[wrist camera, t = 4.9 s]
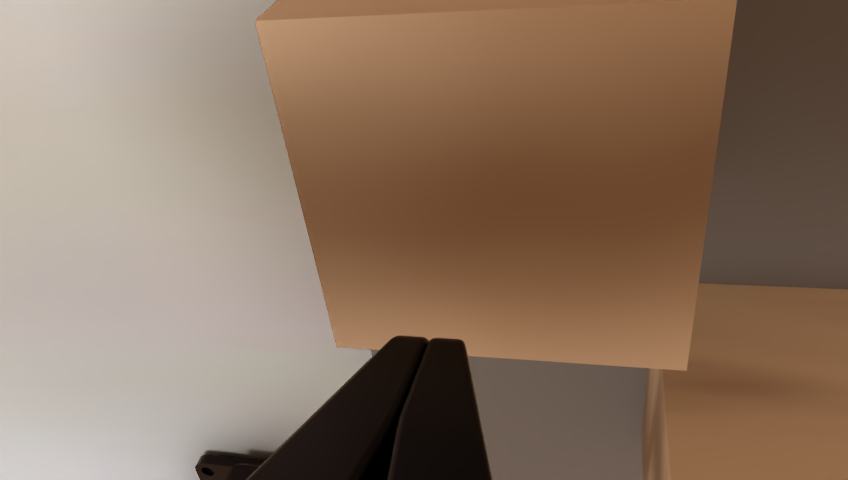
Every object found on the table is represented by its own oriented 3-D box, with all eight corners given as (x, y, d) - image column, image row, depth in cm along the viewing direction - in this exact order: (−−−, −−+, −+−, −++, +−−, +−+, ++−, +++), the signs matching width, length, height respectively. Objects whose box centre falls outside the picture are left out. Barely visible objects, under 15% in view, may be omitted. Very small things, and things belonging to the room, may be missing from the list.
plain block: (665, 178, 16) (686, 370, 12) (410, 176, 18) (336, 346, 13) (692, -109, 13) (737, -2, 8) (372, -84, 14) (254, 21, 10)
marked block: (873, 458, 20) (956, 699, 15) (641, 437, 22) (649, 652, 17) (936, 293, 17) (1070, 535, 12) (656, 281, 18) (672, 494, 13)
